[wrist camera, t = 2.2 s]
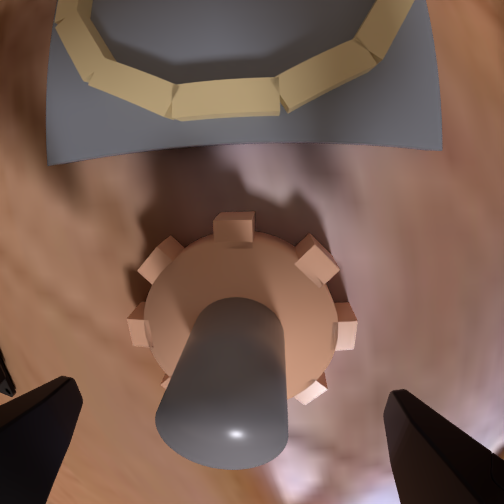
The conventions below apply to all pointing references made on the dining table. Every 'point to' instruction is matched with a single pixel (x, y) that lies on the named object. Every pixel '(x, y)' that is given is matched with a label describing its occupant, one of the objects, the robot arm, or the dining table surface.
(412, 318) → the dining table surface
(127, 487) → the dining table surface
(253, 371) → the planet gear
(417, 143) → the carrier plate
